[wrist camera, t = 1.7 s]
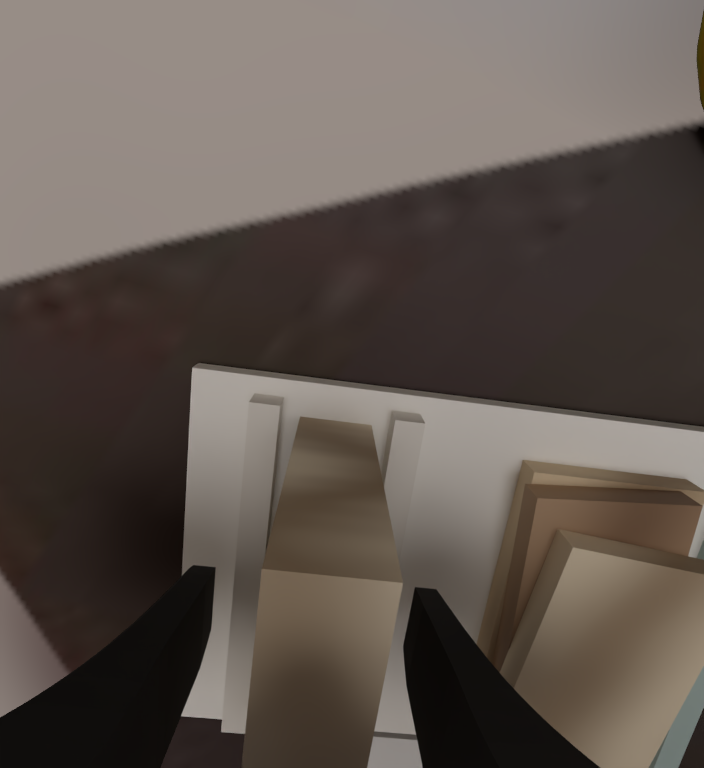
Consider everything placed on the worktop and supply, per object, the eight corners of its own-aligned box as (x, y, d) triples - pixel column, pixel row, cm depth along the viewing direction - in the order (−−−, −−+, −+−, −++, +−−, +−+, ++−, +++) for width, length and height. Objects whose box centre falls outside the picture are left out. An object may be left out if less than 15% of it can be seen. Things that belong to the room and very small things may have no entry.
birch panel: (371, 425, 13) (403, 583, 6) (327, 704, 15) (319, 1012, 9) (300, 416, 13) (261, 569, 6) (267, 699, 15) (217, 1009, 9)
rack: (765, 434, 14) (827, 459, 12) (647, 736, 17) (682, 791, 15) (198, 362, 13) (176, 378, 11) (180, 698, 16) (161, 752, 14)
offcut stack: (697, 480, 13) (772, 526, 11) (612, 716, 16) (659, 794, 13) (516, 459, 13) (555, 501, 11) (456, 703, 15) (477, 781, 13)
